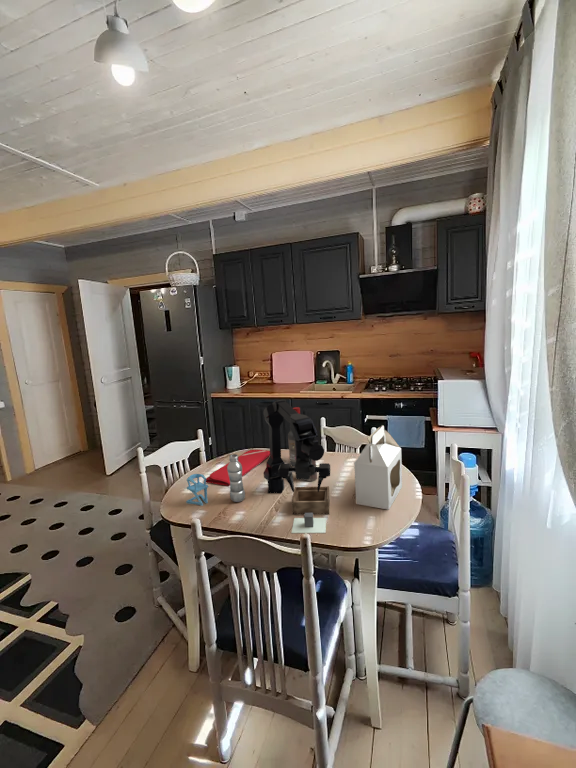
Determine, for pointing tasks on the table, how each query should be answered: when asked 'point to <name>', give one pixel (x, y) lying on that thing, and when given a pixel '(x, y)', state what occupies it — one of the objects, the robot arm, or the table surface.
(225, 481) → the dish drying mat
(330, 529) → the table surface
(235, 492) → the plastic bottle
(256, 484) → the table surface
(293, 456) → the liquor
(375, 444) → the gable box
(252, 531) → the table surface
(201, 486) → the chair
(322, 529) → the cover plate
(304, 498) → the walnut box
